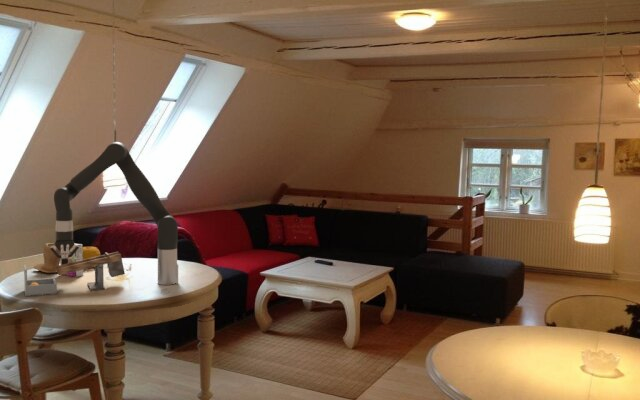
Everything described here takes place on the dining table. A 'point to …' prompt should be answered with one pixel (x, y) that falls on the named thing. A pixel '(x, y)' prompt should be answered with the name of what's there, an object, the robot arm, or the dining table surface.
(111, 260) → the lever
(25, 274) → the grey tray
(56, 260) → the brown top hat
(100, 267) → the lever stand
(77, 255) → the candy bar box
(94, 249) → the yellow pumpkin
